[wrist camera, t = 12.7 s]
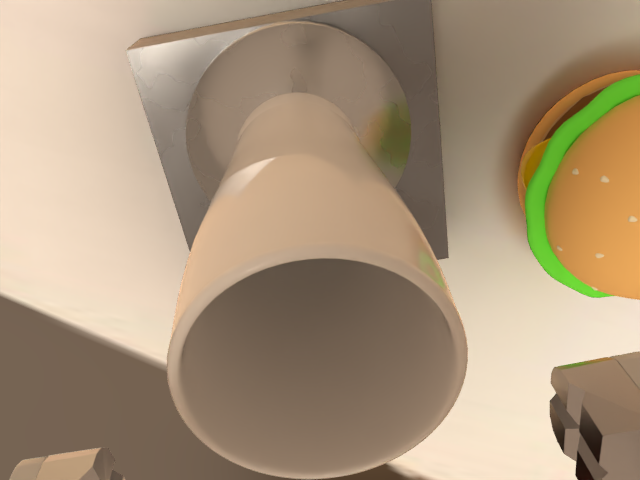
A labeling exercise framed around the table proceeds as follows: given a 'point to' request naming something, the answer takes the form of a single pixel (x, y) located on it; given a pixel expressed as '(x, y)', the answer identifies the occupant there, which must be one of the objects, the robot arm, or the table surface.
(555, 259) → the hamburger
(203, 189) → the dial scale
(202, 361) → the drinking glass
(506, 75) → the table surface
